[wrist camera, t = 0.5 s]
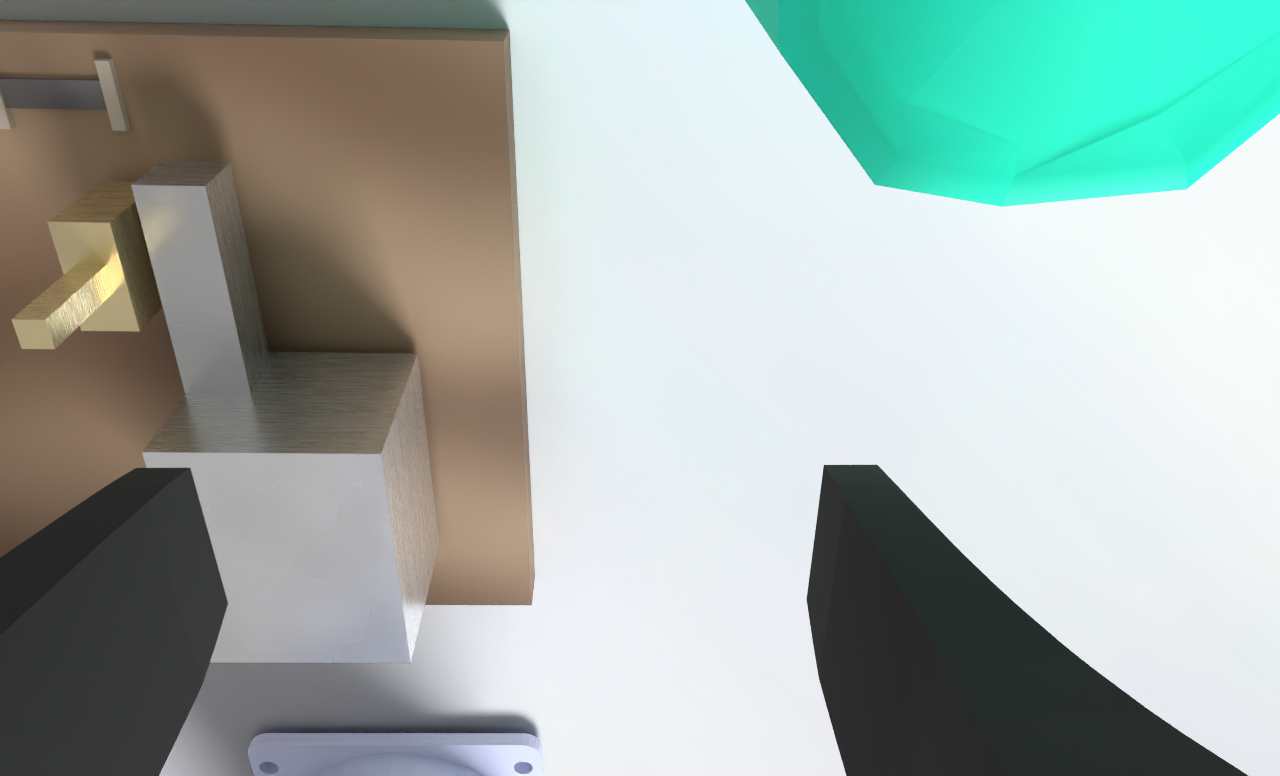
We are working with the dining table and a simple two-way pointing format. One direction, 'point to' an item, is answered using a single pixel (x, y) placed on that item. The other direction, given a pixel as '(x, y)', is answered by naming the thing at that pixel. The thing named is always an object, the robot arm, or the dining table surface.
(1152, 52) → the candle
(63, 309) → the peak needle
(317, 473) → the gauge carriage
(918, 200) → the dining table surface
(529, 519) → the base
